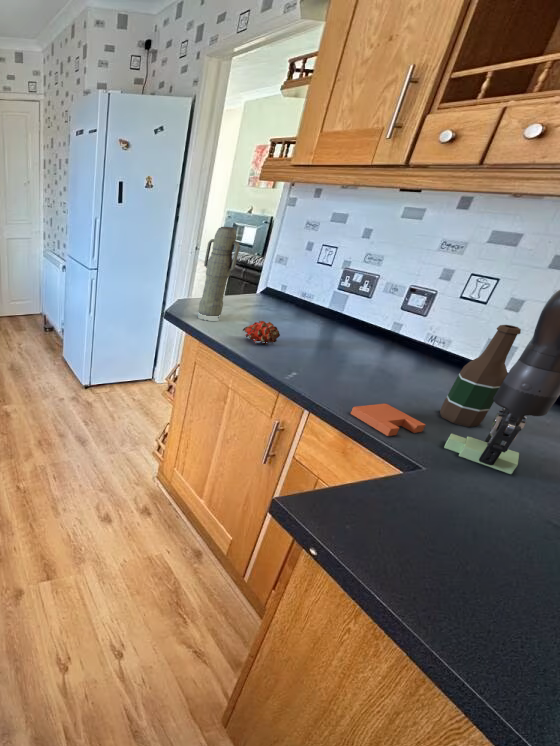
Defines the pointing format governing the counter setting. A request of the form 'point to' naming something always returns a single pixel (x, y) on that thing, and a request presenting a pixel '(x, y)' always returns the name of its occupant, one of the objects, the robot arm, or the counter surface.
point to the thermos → (218, 270)
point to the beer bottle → (479, 381)
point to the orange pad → (386, 419)
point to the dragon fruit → (262, 332)
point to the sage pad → (475, 448)
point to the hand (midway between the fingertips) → (487, 455)
